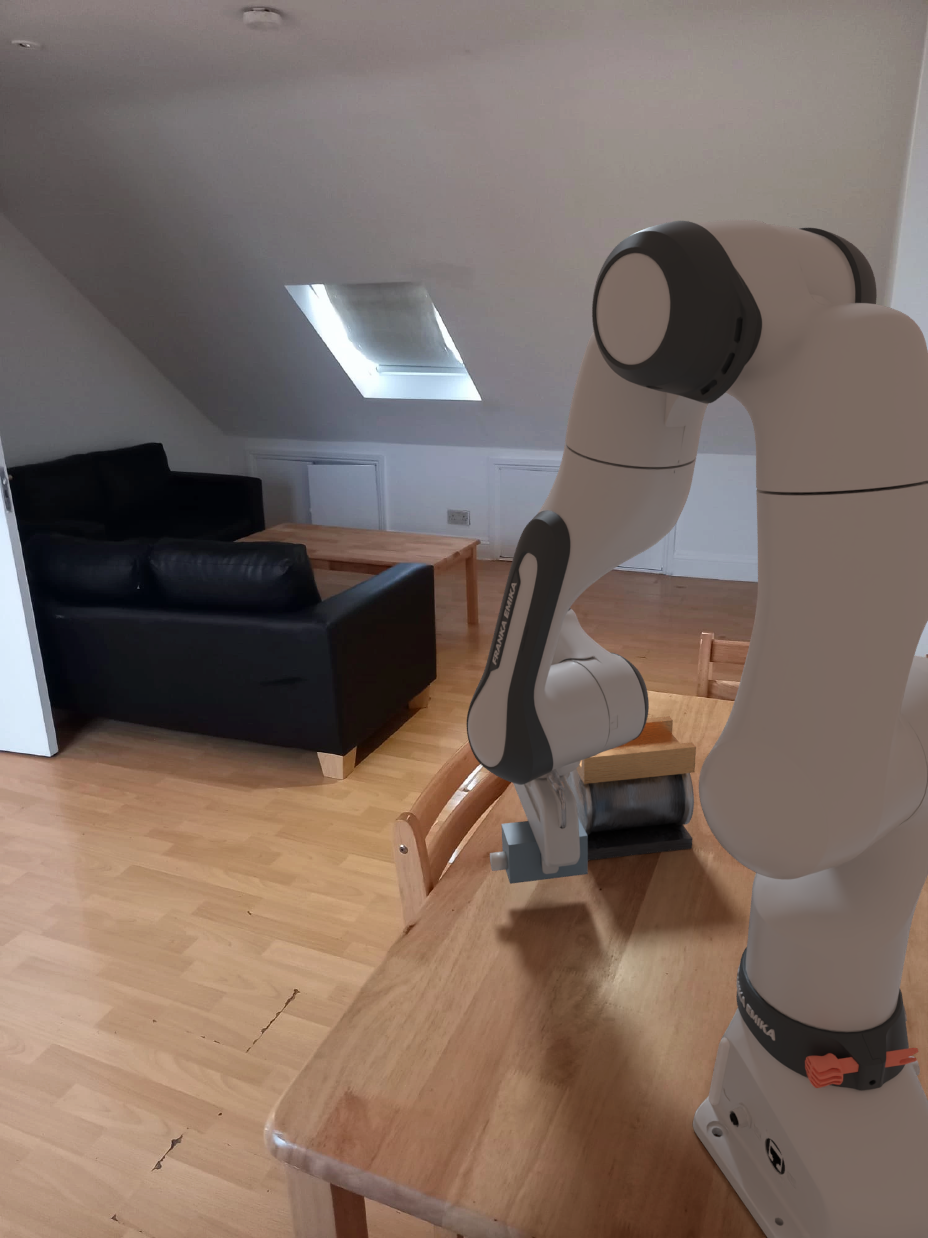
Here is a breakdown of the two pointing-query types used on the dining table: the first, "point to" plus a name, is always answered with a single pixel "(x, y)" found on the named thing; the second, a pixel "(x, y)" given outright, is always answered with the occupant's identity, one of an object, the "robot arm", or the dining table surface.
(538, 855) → the blue-grey rectangular block
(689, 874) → the dining table surface
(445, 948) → the dining table surface
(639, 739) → the wood-topped grey cylinder
